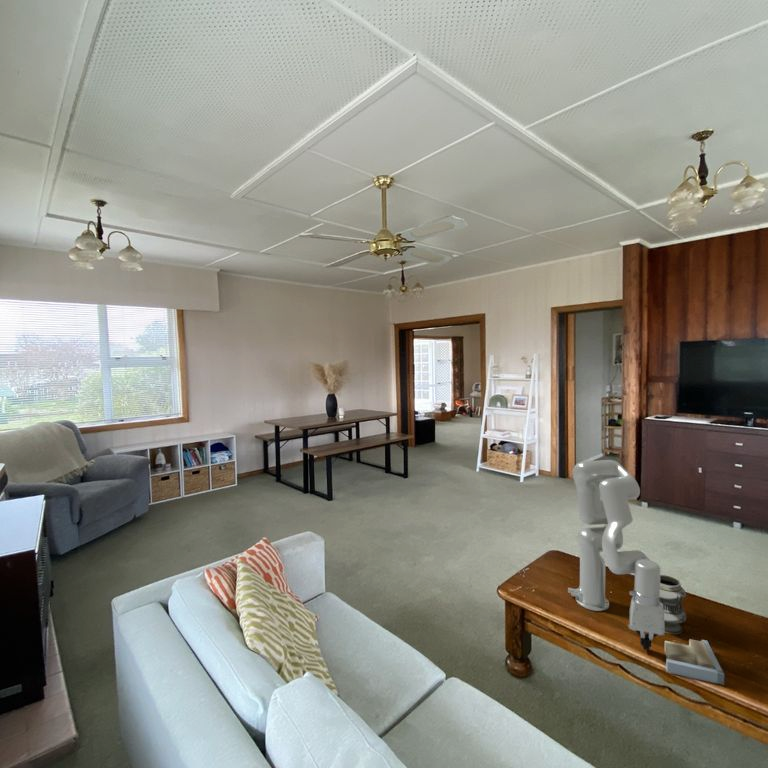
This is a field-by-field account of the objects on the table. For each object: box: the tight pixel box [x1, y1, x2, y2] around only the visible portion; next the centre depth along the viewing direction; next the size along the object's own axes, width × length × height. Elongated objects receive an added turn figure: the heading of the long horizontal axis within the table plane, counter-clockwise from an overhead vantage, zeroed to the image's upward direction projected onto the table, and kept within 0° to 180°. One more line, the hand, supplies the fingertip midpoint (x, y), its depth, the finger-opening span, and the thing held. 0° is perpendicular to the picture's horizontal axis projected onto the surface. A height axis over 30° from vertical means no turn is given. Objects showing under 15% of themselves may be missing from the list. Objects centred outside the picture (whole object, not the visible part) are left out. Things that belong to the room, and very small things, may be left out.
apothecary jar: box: [660, 574, 687, 635], centre depth 160 cm, size 12×12×18 cm
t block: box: [664, 638, 715, 669], centre depth 143 cm, size 12×12×4 cm
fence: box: [665, 639, 725, 686], centre depth 142 cm, size 15×17×4 cm
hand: (645, 647), depth 148 cm, fingers closed
